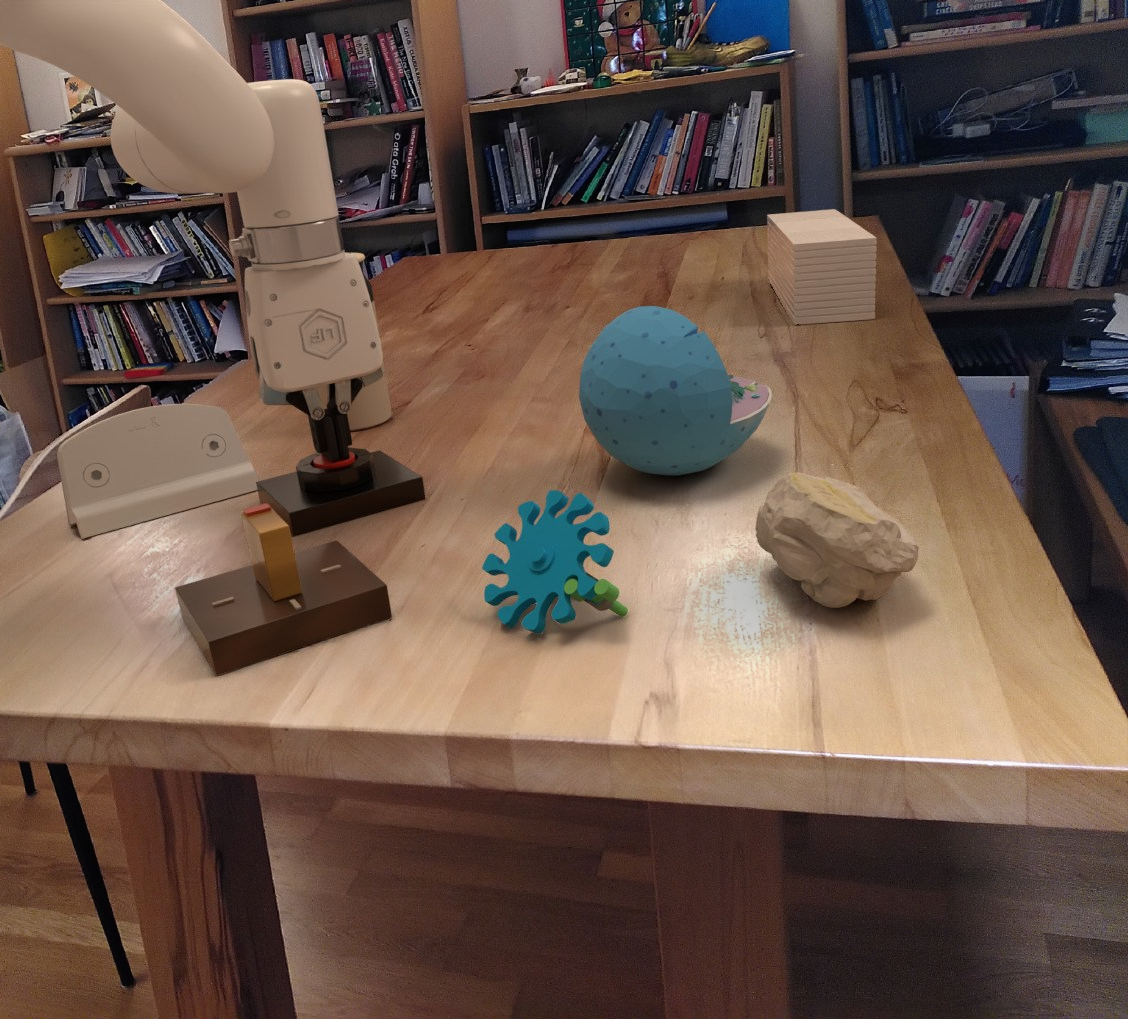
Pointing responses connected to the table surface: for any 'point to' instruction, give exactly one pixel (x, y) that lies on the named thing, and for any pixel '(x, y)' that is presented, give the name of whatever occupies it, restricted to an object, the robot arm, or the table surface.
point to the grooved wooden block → (822, 266)
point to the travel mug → (366, 389)
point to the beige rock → (833, 539)
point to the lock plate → (281, 608)
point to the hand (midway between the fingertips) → (335, 456)
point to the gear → (551, 564)
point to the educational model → (665, 395)
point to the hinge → (151, 466)
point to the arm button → (324, 463)
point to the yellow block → (271, 551)
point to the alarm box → (340, 491)
